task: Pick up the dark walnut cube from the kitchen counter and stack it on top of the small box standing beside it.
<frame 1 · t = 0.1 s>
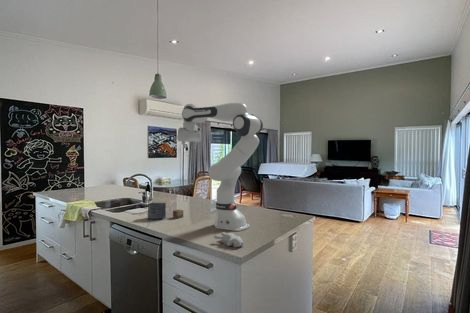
hand: (189, 148, 184), 48 cm above the countertop, tool pointing down, fingers open, 8 cm apart
bunny figurine: (229, 244, 133), on the countertop
walnut cube: (178, 217, 186), on the countertop
small box: (157, 218, 183), on the countertop
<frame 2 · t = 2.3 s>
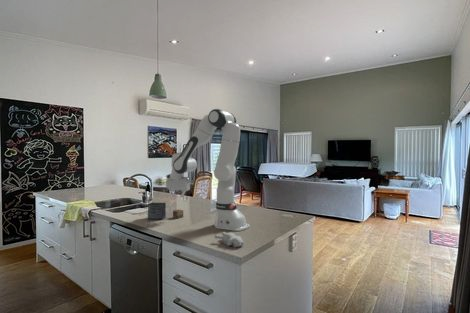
hand: (177, 196, 185), 15 cm above the countertop, tool pointing down, fingers open, 8 cm apart
nothing on the countertop moved.
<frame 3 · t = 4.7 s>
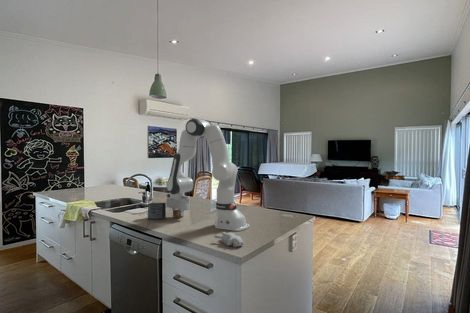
hand: (178, 215, 186), 2 cm above the countertop, tool pointing down, fingers closed on walnut cube, 5 cm apart
walnut cube: (178, 217, 186), on the countertop, touching gripper
everything else where it was.
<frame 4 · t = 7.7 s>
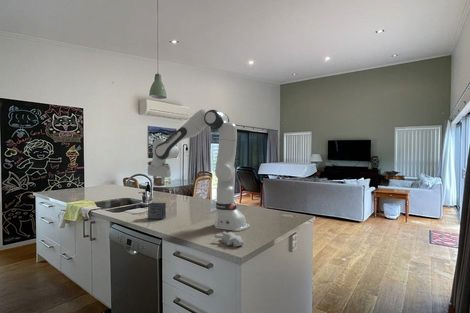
hand: (158, 183, 183), 24 cm above the countertop, tool pointing down, fingers closed on walnut cube, 5 cm apart
walnut cube: (158, 185, 183), point 23 cm above the countertop, touching gripper
everything else where it was.
when the fingers open (13 cm above the countertop, at t = 10.6 s): walnut cube drops 1 cm, resting on small box.
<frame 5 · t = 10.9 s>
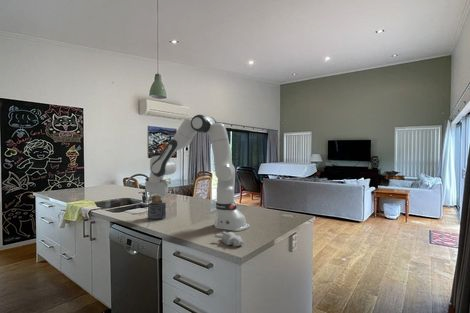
hand: (156, 199, 183), 13 cm above the countertop, tool pointing down, fingers open, 8 cm apart
walnut cube: (157, 203, 183), point 10 cm above the countertop, touching small box
small box: (157, 218, 183), on the countertop, touching walnut cube
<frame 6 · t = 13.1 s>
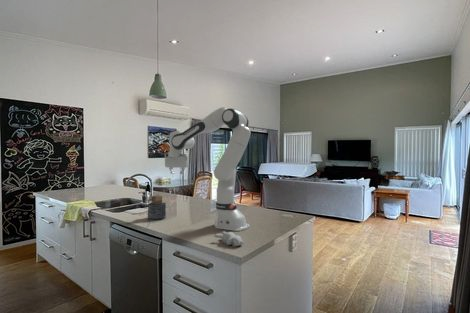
hand: (177, 174, 187), 30 cm above the countertop, tool pointing down, fingers open, 8 cm apart
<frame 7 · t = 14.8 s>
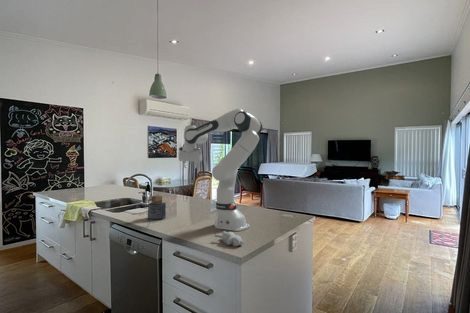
hand: (190, 167, 191), 34 cm above the countertop, tool pointing down, fingers open, 8 cm apart
at the end: walnut cube 0.1 cm from the small box (horizontally); walnut cube point 10.4 cm above the countertop; the gripper is holding nothing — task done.
